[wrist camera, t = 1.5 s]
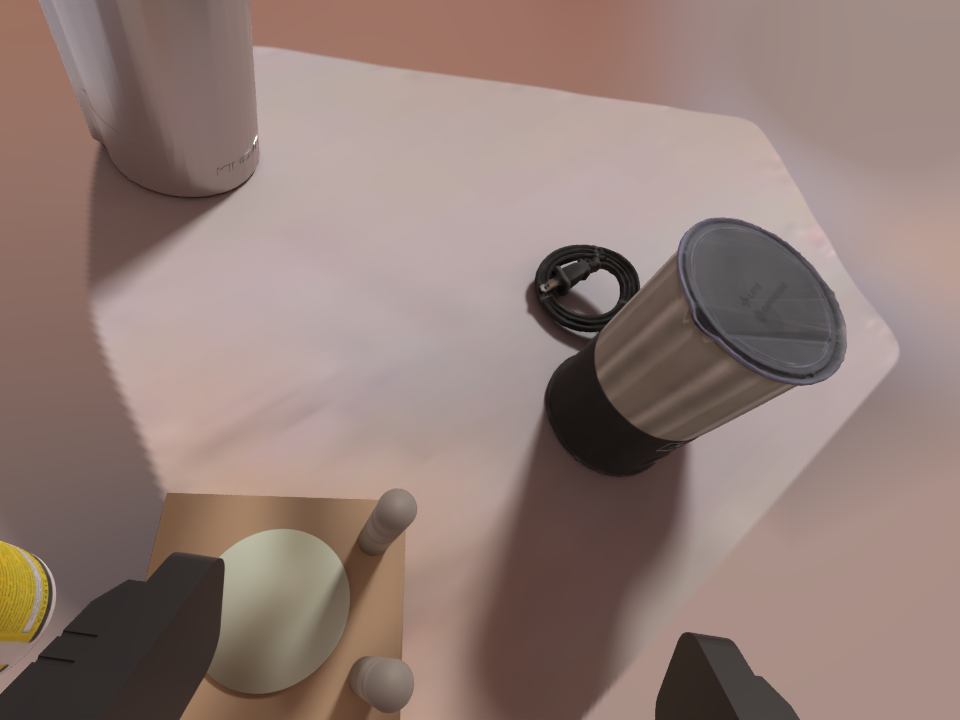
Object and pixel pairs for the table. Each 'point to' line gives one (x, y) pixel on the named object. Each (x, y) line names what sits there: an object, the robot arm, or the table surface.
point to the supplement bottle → (22, 602)
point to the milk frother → (686, 342)
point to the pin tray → (299, 603)
